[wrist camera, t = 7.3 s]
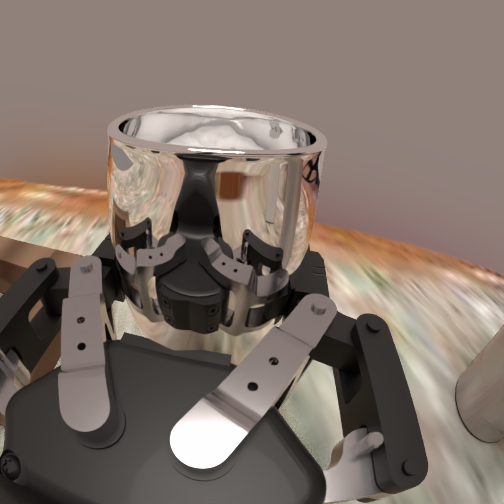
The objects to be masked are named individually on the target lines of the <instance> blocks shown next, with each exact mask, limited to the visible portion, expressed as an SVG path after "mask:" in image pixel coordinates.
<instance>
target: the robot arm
mask: <svg viewBox="0 0 504 504" xmlns="http://www.w3.org/2000/svg"><path fill="white" fill-rule="evenodd" d="M39 300H40V301H41V303H42V305H43V306H42V307H41V308H40V310H39V311H38V312H37V313H36V315H35V316H34V317H33V318H32V320H31V321H30V322H29V313H30V311H31V309H32V308H33V307H34V306H35V304H36V303H37V302H38V301H39ZM114 300H117V301H121V302H124V300H125V296H124V293H123V290H122V288H121V285H120V281H119V277H118V272H117V268H116V264H115V260H114V255H113V249H112V242H111V234H110V233H109V235H107V237H106V238H105V240H103V241H102V243H101V244H100V245H99V246H98V248H97V249H96V250H95V251H94V253H93V254H92V255H91V256H83V257H81V258H79V259H77V260H76V261H74V262H73V264H72V266H71V267H60V268H57V266H56V263H55V261H54V259H52V258H41V259H38V260H37V261H35V262H34V263H32V264H31V265H30V267H29V268H28V269H27V270H26V271H25V272H24V273H23V274H22V275H21V276H20V277H19V278H18V279H17V280H16V281H15V282H14V283H13V284H12V286H11V287H10V288H9V289H8V290H7V291H6V292H5V293H4V294H3V296H2V297H1V298H0V414H3V415H4V416H5V417H4V420H5V440H4V448H3V452H2V455H1V457H0V504H332V503H339V502H345V501H351V500H357V501H359V502H363V503H368V502H372V501H375V500H379V499H382V498H385V497H388V496H391V495H394V494H397V493H400V492H403V491H405V490H408V489H411V488H413V487H416V486H417V485H419V484H420V483H421V482H422V481H423V480H424V479H425V477H426V475H427V472H428V461H427V456H426V452H425V447H424V443H423V439H422V435H421V431H420V427H419V423H418V419H417V415H416V412H415V408H414V404H413V401H412V398H411V394H410V391H409V387H408V384H407V381H406V378H405V374H404V371H403V368H402V365H401V362H400V359H399V356H398V353H397V350H396V347H395V344H394V342H393V339H392V336H391V333H390V330H389V328H388V325H387V324H386V322H385V321H384V320H383V319H382V318H380V317H379V316H377V315H374V314H369V313H368V314H362V315H360V316H359V317H358V318H357V320H356V319H353V318H351V317H348V316H346V315H343V314H341V313H340V312H338V311H337V307H336V305H335V303H334V302H333V301H332V300H331V299H330V298H329V291H328V284H327V278H326V271H325V265H324V260H323V258H322V257H321V255H320V254H319V253H318V252H314V251H310V247H309V245H308V249H307V253H306V257H305V261H304V264H303V267H302V270H301V273H300V276H299V279H298V282H297V284H296V286H295V288H294V291H293V294H292V297H291V300H290V302H289V304H288V306H287V308H286V310H285V312H284V314H283V319H282V324H281V325H280V327H276V326H274V327H273V328H272V329H271V330H270V331H269V332H268V333H267V334H266V335H265V336H264V337H263V339H262V340H261V341H260V342H259V343H258V344H257V345H256V346H255V347H254V349H253V350H252V351H251V352H250V353H249V354H248V355H247V356H246V357H245V358H244V360H243V361H242V362H241V363H240V364H239V365H238V366H237V365H235V364H232V363H231V356H232V355H229V354H223V353H218V352H212V351H206V350H172V349H170V348H167V347H165V346H163V345H161V344H159V343H157V342H155V341H153V340H151V339H149V338H145V337H141V336H137V335H133V334H129V333H125V332H124V334H123V336H122V338H121V340H117V336H116V329H115V321H114V312H113V307H112V304H113V302H114ZM60 329H61V366H59V367H57V368H55V369H54V370H52V371H50V372H49V373H47V374H45V375H43V376H42V377H40V378H38V379H36V380H35V381H33V382H31V383H30V374H31V373H32V371H33V370H34V368H35V366H36V365H37V363H38V362H39V360H40V359H41V357H42V356H43V354H44V353H45V351H46V350H47V348H48V347H49V345H50V344H51V342H52V341H53V339H54V338H55V336H56V335H57V334H58V332H59V331H60ZM313 360H316V361H319V362H321V363H324V364H326V365H329V366H331V367H332V368H333V373H334V379H335V385H336V391H337V397H338V403H339V410H340V416H341V423H342V430H343V437H344V439H342V440H341V441H340V442H339V443H337V444H336V445H335V447H334V448H333V450H332V454H331V463H330V465H329V467H328V469H327V470H326V471H322V469H321V467H320V466H319V464H318V463H317V462H316V460H315V459H314V458H313V457H312V455H311V454H310V453H309V451H308V450H307V449H306V448H305V446H304V445H303V444H302V442H301V441H300V440H299V438H298V437H297V436H296V434H295V433H294V432H293V430H292V429H291V428H290V426H289V425H288V424H287V422H286V421H285V420H284V418H283V417H282V415H281V414H280V413H279V410H280V409H281V407H282V406H283V405H284V403H285V402H286V400H287V399H288V397H289V396H290V394H291V392H292V391H293V389H294V388H295V386H296V385H297V383H298V382H299V381H300V379H301V378H302V376H303V375H304V373H305V372H306V370H307V369H308V367H309V366H310V364H311V363H312V361H313ZM456 400H457V406H458V410H459V413H460V415H461V418H462V420H463V422H464V424H465V425H466V427H467V428H468V429H469V431H470V432H471V433H472V434H473V435H474V436H476V437H477V438H479V439H480V440H483V441H486V442H496V441H499V440H501V439H502V438H504V325H503V326H502V327H501V329H500V330H499V331H498V332H497V334H496V335H495V336H494V337H493V339H492V340H491V341H490V342H489V343H488V344H487V346H486V347H485V348H484V349H483V350H482V351H481V352H480V353H479V355H478V356H477V357H476V358H475V359H474V360H473V362H472V364H471V365H470V366H469V367H468V368H467V369H466V370H465V371H464V372H463V373H462V374H461V376H460V378H459V380H458V383H457V387H456Z"/></svg>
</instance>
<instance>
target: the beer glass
mask: <svg viewBox="0 0 504 504" xmlns="http://www.w3.org/2000/svg"><path fill="white" fill-rule="evenodd" d="M107 131H108V213H109V225H110V234H111V242H112V249H113V255H114V260H115V264H116V268H117V272H118V277H119V281H120V285H121V288H122V290H123V293H124V296H125V298H126V301H127V303H128V306H129V308H130V311H131V313H132V315H133V317H134V319H135V321H136V323H137V325H138V327H139V329H140V331H141V333H142V335H143V337H145V338H149V339H151V340H153V341H155V342H157V343H159V344H161V345H163V346H165V347H167V348H170V349H172V350H206V351H212V352H218V353H223V354H229V355H232V356H231V363H232V364H235V365H237V366H238V365H239V364H240V363H241V362H242V361H243V360H244V358H245V357H246V356H247V355H248V354H249V353H250V352H251V351H252V350H253V349H254V347H255V346H256V345H257V344H258V343H259V342H260V341H261V340H262V339H263V337H264V336H265V335H266V334H267V333H268V332H269V331H270V330H271V329H272V328H273V327H274V326H276V327H277V326H278V324H279V322H280V320H281V318H282V316H283V314H284V312H285V310H286V308H287V306H288V304H289V302H290V300H291V297H292V294H293V291H294V288H295V286H296V284H297V282H298V279H299V276H300V273H301V270H302V267H303V264H304V261H305V257H306V253H307V249H308V245H309V241H310V237H311V232H312V228H313V222H314V217H315V211H316V206H317V199H318V193H319V186H320V179H321V171H322V164H323V159H324V153H325V149H326V146H327V140H326V138H325V136H324V135H323V134H322V133H320V132H319V131H318V130H316V129H314V128H313V127H311V126H309V125H307V124H304V123H302V122H299V121H296V120H294V119H291V118H287V117H284V116H281V115H277V114H273V113H268V112H264V111H259V110H253V109H247V108H240V107H230V106H219V105H175V106H163V107H156V108H150V109H144V110H139V111H135V112H132V113H129V114H126V115H123V116H121V117H119V118H117V119H115V120H114V121H112V122H111V123H110V125H109V126H108V129H107Z"/></svg>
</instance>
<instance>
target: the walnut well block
mask: <svg viewBox="0 0 504 504" xmlns="http://www.w3.org/2000/svg"><path fill="white" fill-rule="evenodd" d="M81 257H82V255H77V254H73V253H68V252H64V251H60V250H55V249H51V248H47V247H42V246H38V245H34V244H30V243H26V242H22V241H18V240H14V239H10V238H6V237H2V236H0V292H1V293H5V292H6V291H7V290H8V289H9V288H10V287H11V286H12V284H13V283H14V282H15V281H16V280H17V279H18V278H19V277H20V276H21V275H22V274H23V273H24V272H25V271H26V270H27V269H28V268H29V267H30V265H31V264H32V263H34V262H35V261H37V260H38V259H41V258H52V259H54V261H55V263H56V266H57V268H60V267H71V266H72V264H73V262H74V261H76V260H77V259H79V258H81ZM42 306H43V305H42V303H41V301H40V300H39V301H38V302H37V303H36V304H35V306H34V307H33V308H32V309H31V311H30V313H29V322H30V321H31V320H32V318H33V317H34V316H35V315H36V313H37V312H38V311H39V310H40V308H41V307H42ZM60 355H61V329H60V331H59V332H58V334H57V335H56V336H55V338H54V339H53V341H52V342H51V344H50V345H49V347H48V348H47V350H46V351H45V353H44V354H43V356H42V357H41V359H40V360H39V362H38V363H37V365H36V366H35V368H34V370H33V371H32V373H31V374H30V383H31V382H33V381H35V380H36V379H38V378H40V377H42V376H43V375H45V374H47V373H49V372H50V371H52V370H53V369H54V367H55V365H56V363H57V361H58V359H59V357H60ZM4 417H5V416H4V415H3V414H0V424H1V425H2V426H4V427H5V420H4Z"/></svg>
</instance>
